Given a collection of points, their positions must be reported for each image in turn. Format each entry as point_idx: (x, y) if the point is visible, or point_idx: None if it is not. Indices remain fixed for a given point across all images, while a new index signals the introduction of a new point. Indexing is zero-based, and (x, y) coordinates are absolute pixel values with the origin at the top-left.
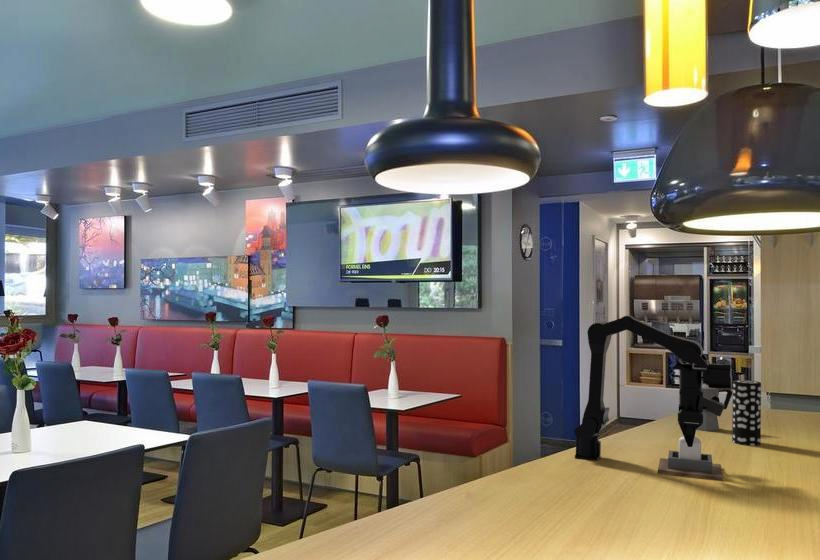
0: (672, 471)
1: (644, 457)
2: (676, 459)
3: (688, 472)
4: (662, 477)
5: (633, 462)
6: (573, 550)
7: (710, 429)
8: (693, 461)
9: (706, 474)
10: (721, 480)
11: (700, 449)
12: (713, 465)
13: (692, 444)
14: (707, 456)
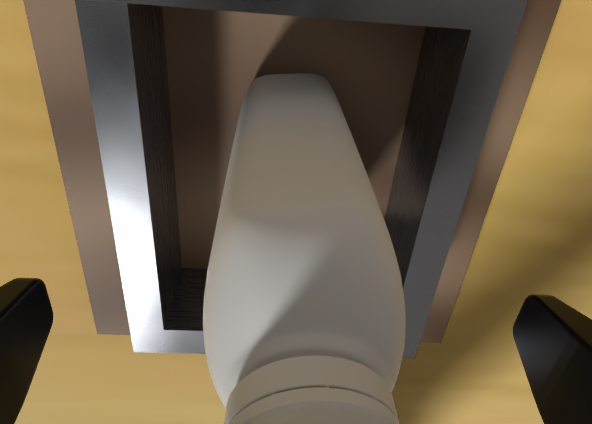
0: (464, 272)
1: (49, 383)
2: (425, 303)
3: (477, 178)
4: (519, 303)
5: (216, 418)
6: None
7: None
8: (464, 179)
9: (523, 36)
10: None
11: (351, 150)
12: None
13: (586, 317)
14: (133, 2)
